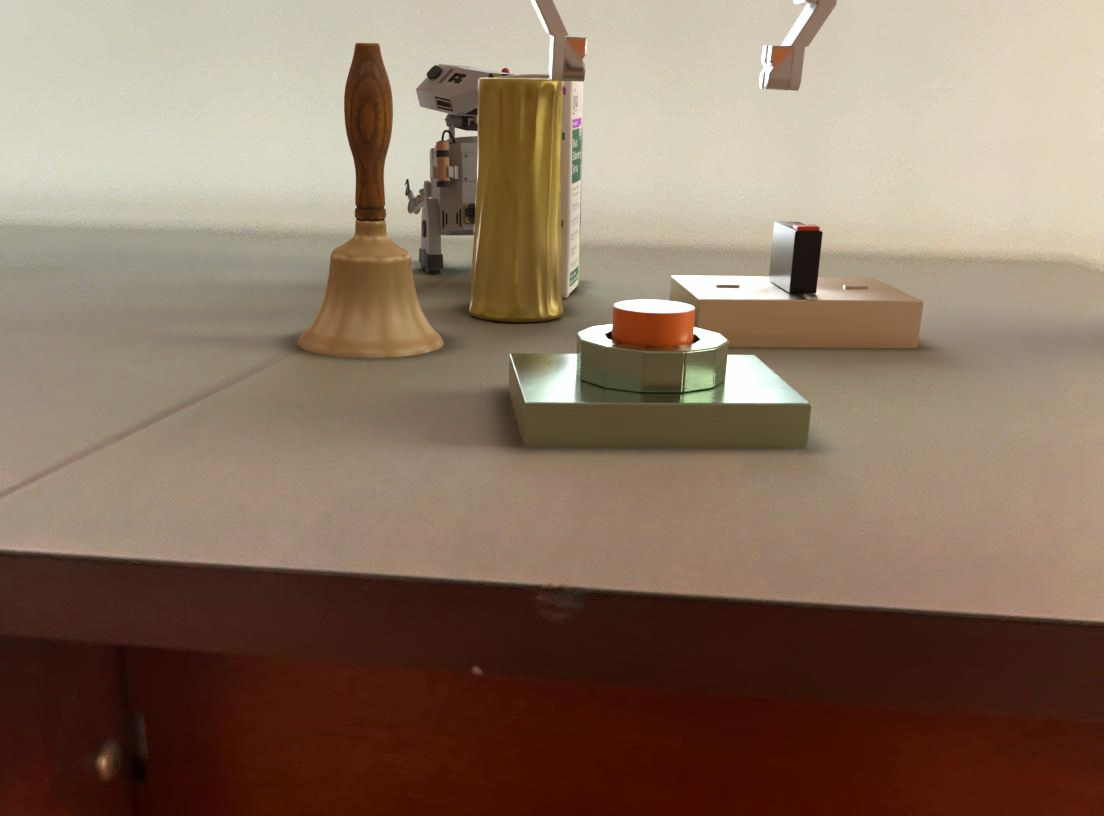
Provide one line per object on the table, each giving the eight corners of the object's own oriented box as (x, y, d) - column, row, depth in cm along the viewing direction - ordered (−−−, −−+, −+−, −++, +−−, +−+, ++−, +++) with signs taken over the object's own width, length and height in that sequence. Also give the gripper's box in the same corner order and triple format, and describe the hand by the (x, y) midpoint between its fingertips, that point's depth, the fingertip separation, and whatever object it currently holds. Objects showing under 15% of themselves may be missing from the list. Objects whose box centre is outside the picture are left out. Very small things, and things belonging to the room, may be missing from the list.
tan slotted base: (867, 324, 85) (873, 274, 84) (917, 353, 76) (925, 298, 75) (667, 322, 84) (670, 272, 83) (695, 352, 76) (700, 296, 74)
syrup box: (569, 298, 92) (577, 74, 87) (486, 294, 93) (489, 73, 88) (579, 286, 97) (587, 74, 92) (500, 283, 98) (504, 72, 93)
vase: (494, 303, 90) (498, 77, 84) (578, 312, 87) (586, 79, 82) (452, 317, 84) (453, 77, 79) (539, 326, 82) (546, 79, 77)
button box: (751, 399, 65) (758, 317, 64) (806, 454, 56) (816, 360, 54) (508, 398, 64) (510, 315, 63) (523, 454, 55) (526, 359, 54)
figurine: (510, 256, 112) (514, 65, 106) (544, 276, 102) (551, 66, 96) (404, 257, 110) (402, 63, 105) (428, 277, 100) (427, 63, 94)
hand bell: (474, 349, 75) (478, 45, 69) (361, 370, 70) (354, 41, 64) (380, 328, 80) (375, 44, 74) (268, 346, 75) (253, 40, 69)
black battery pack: (768, 280, 81) (774, 217, 80) (794, 280, 82) (800, 217, 80) (789, 293, 77) (795, 226, 75) (816, 293, 77) (823, 227, 75)
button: (684, 338, 61) (687, 299, 60) (699, 354, 57) (702, 313, 57) (606, 337, 60) (608, 298, 60) (617, 353, 57) (619, 312, 56)
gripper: (931, -254, 56) (883, 93, 62) (451, -281, 55) (444, 75, 60) (987, -290, 50) (929, 97, 56) (452, -321, 49) (444, 77, 55)
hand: (673, 85), depth 58 cm, fingers open, 8 cm apart
